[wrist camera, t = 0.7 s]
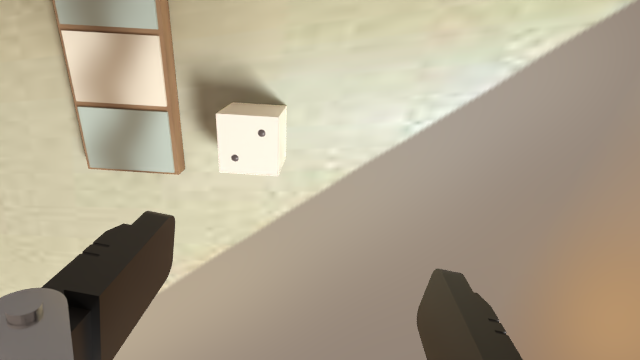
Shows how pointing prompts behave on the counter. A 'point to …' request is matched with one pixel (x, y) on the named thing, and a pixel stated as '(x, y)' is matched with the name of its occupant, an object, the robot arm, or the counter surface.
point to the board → (123, 83)
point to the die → (251, 138)
